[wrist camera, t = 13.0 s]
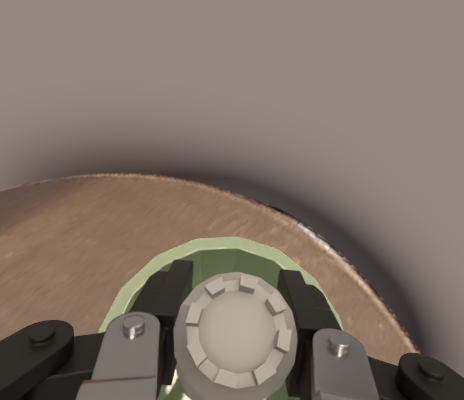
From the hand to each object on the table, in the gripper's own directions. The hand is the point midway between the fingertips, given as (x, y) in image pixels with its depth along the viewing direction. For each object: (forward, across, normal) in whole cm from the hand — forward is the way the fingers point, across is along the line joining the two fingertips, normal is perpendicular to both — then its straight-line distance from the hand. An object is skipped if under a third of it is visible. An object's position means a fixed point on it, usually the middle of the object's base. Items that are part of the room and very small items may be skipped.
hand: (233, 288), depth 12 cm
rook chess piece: (+2, 0, +4) cm, 5 cm away
